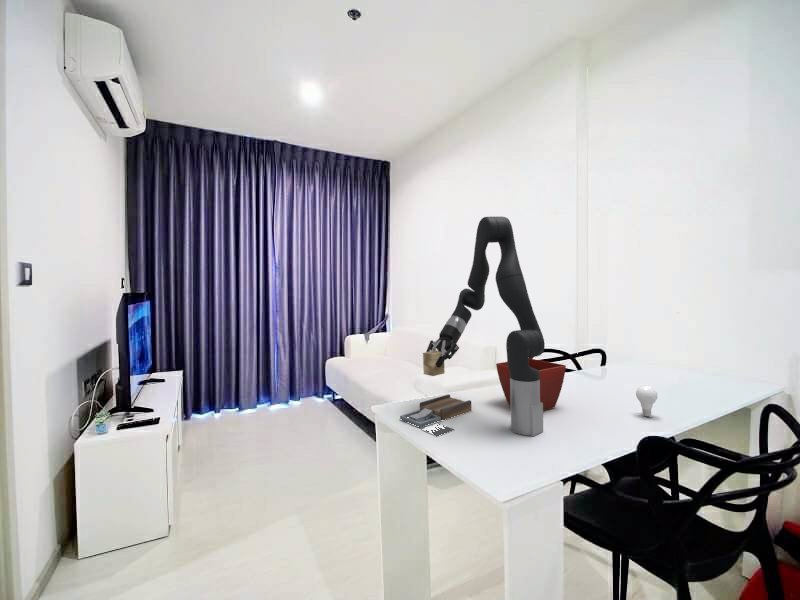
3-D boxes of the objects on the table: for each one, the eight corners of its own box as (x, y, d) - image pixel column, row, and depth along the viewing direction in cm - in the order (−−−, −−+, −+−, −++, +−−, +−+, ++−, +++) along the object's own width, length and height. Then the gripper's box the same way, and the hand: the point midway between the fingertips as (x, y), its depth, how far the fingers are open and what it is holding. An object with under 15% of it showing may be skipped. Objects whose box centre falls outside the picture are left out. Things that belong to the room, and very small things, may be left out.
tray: (440, 421, 131) (440, 416, 130) (420, 428, 124) (420, 423, 124) (420, 413, 139) (420, 409, 139) (400, 419, 133) (399, 415, 133)
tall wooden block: (444, 373, 136) (443, 352, 136) (433, 376, 132) (432, 354, 132) (435, 371, 140) (434, 350, 140) (423, 374, 136) (422, 352, 136)
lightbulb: (648, 420, 126) (647, 389, 125) (631, 414, 132) (631, 384, 131) (662, 418, 127) (662, 387, 127) (645, 412, 133) (645, 383, 133)
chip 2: (433, 414, 133) (432, 410, 133) (426, 420, 131) (425, 416, 130) (426, 411, 136) (425, 407, 136) (418, 417, 134) (417, 413, 133)
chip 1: (416, 418, 128) (416, 423, 128) (424, 416, 131) (424, 420, 131) (408, 416, 131) (409, 420, 131) (417, 413, 134) (417, 417, 134)
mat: (454, 430, 122) (454, 429, 122) (437, 436, 117) (437, 435, 117) (437, 423, 128) (437, 422, 128) (420, 429, 123) (420, 428, 123)
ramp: (471, 410, 140) (471, 400, 140) (442, 421, 130) (442, 410, 130) (448, 403, 150) (448, 394, 150) (419, 413, 140) (419, 402, 139)
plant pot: (495, 404, 148) (494, 362, 148) (529, 396, 157) (528, 357, 156) (532, 418, 131) (531, 371, 131) (568, 409, 140) (567, 365, 139)
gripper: (435, 323, 146) (413, 356, 139) (462, 324, 135) (440, 361, 128) (444, 334, 150) (424, 368, 142) (472, 337, 139) (451, 374, 131)
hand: (432, 365), depth 135 cm, fingers closed on tall wooden block, 5 cm apart
